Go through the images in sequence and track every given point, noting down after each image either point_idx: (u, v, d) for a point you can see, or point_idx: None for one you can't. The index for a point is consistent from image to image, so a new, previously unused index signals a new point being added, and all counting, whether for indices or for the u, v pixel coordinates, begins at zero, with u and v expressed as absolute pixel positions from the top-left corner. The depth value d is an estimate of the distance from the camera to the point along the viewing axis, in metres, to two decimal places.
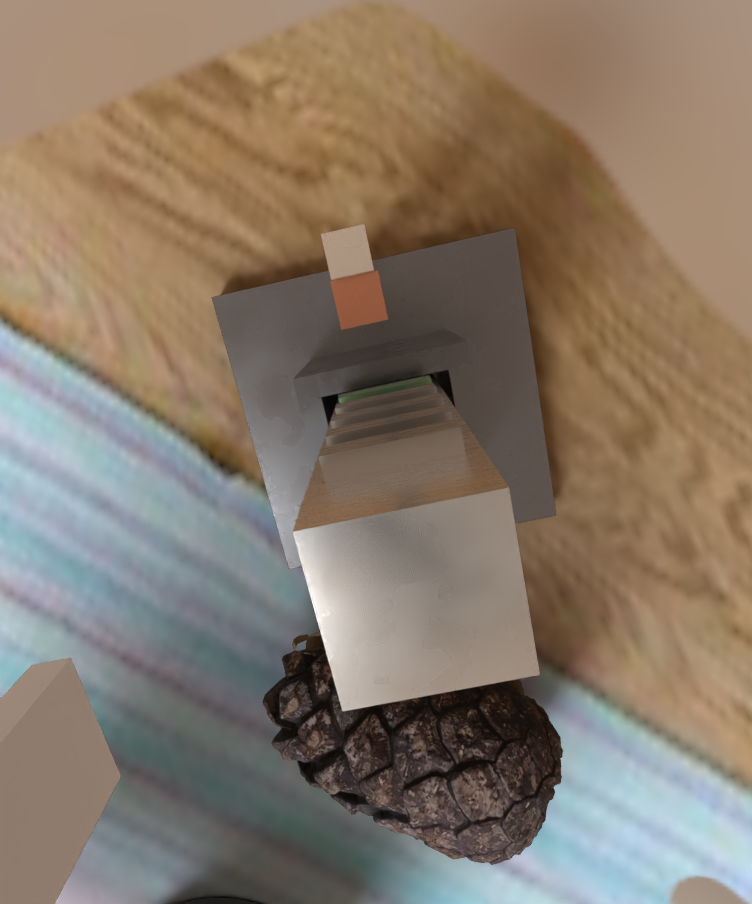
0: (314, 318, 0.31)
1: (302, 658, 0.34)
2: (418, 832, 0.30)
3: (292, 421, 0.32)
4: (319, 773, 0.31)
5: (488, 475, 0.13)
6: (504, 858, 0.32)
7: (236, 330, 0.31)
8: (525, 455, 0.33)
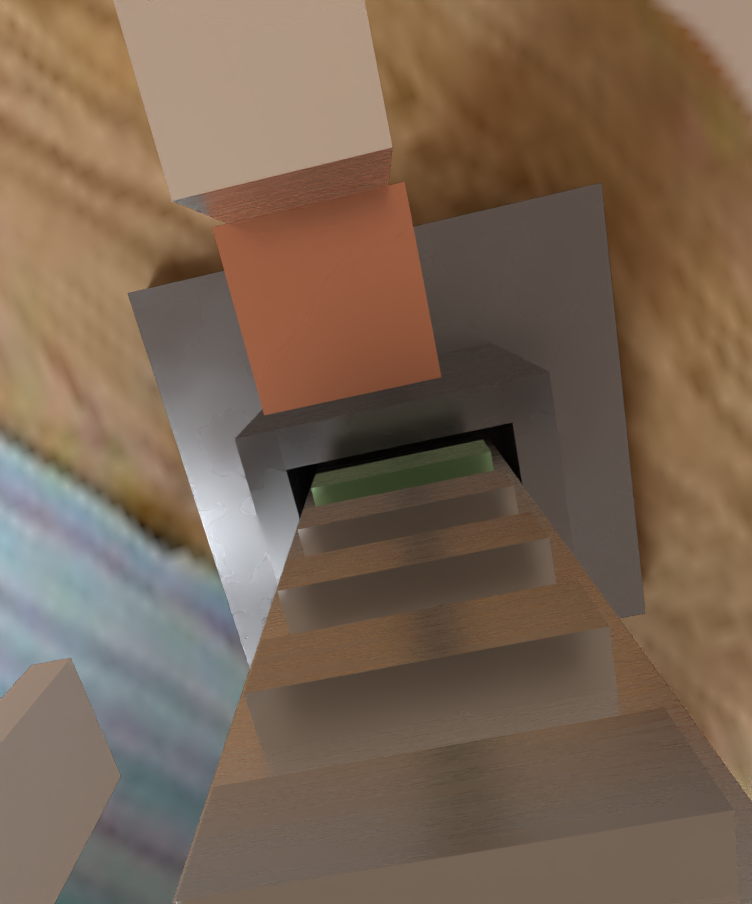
0: None
1: None
2: None
3: None
4: None
5: None
6: None
7: (167, 344, 0.20)
8: (603, 528, 0.22)
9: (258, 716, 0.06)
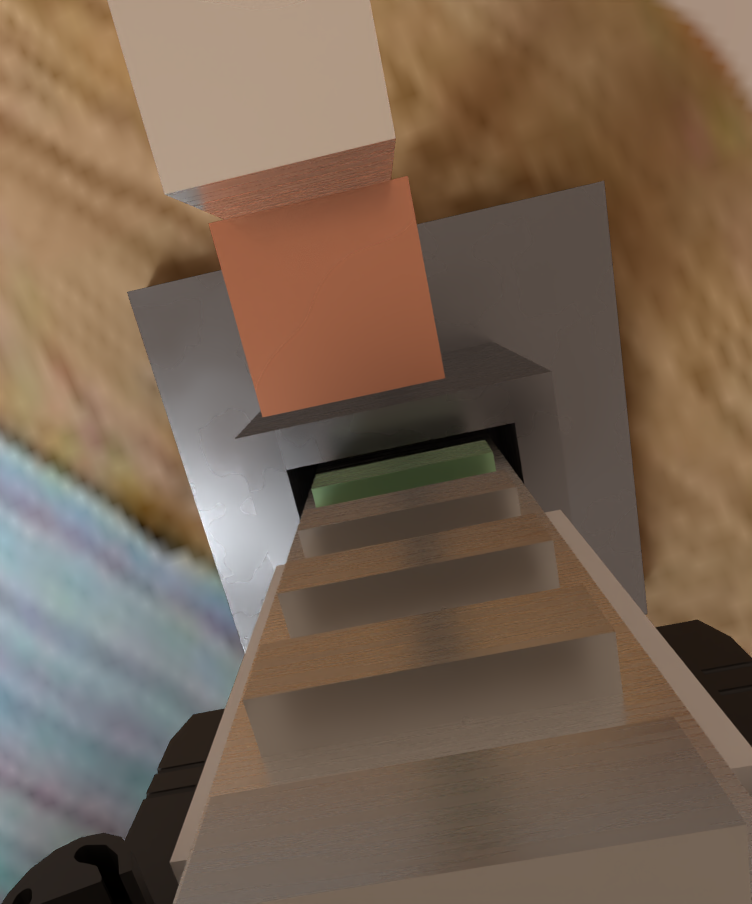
0: None
1: None
2: None
3: None
4: None
5: None
6: None
7: (167, 343, 0.20)
8: (605, 529, 0.22)
9: (257, 722, 0.06)
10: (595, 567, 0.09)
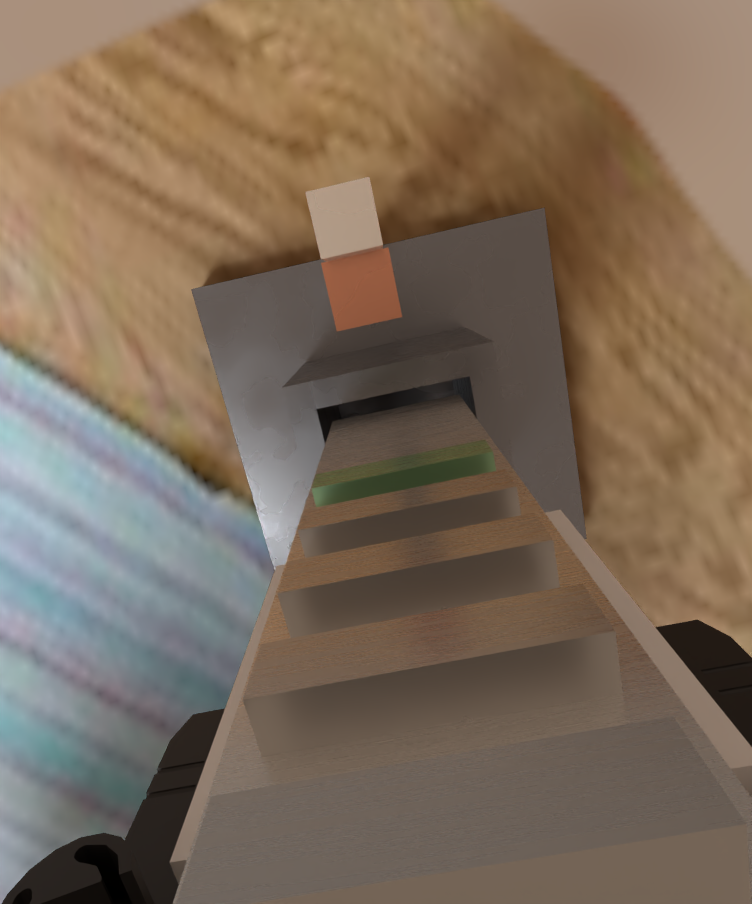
0: (309, 314, 0.26)
1: None
2: None
3: (285, 432, 0.28)
4: None
5: None
6: None
7: (220, 327, 0.27)
8: (552, 471, 0.28)
9: (257, 722, 0.06)
10: (595, 567, 0.09)
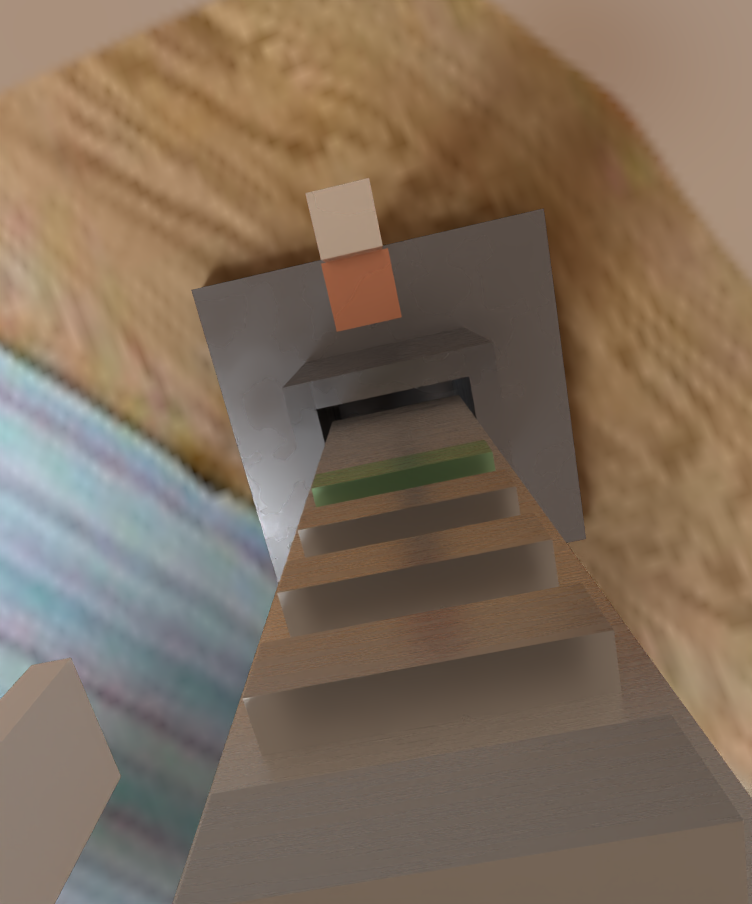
0: (309, 314, 0.26)
1: None
2: None
3: (285, 432, 0.28)
4: None
5: None
6: None
7: (220, 328, 0.27)
8: (551, 471, 0.29)
9: (257, 721, 0.06)
10: None
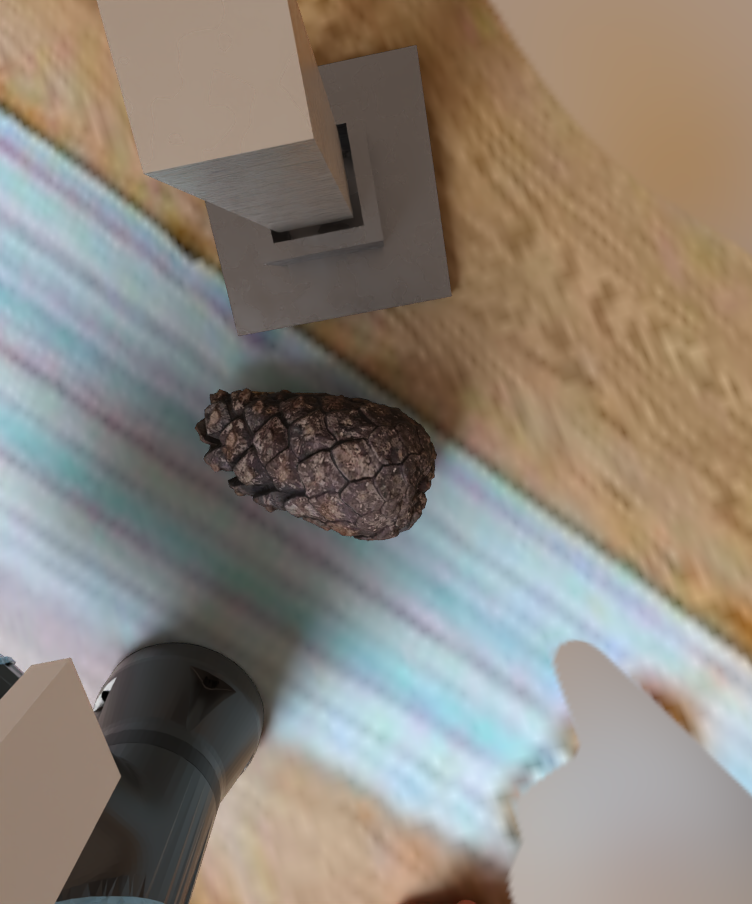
0: None
1: (225, 393, 0.42)
2: (313, 502, 0.39)
3: None
4: (236, 465, 0.40)
5: None
6: (387, 530, 0.40)
7: None
8: (426, 242, 0.41)
9: None
10: None
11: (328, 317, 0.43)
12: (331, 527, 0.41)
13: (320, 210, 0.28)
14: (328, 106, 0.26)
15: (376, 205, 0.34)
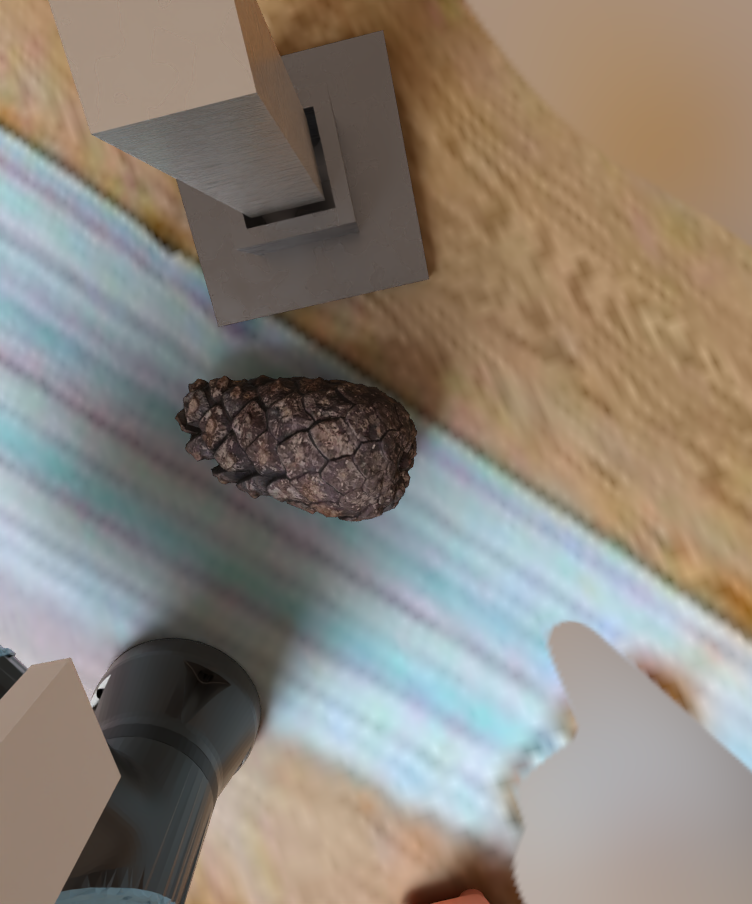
0: None
1: (203, 382, 0.43)
2: (295, 483, 0.39)
3: None
4: (216, 451, 0.40)
5: None
6: (371, 508, 0.40)
7: None
8: (401, 226, 0.41)
9: None
10: None
11: (307, 304, 0.43)
12: (315, 509, 0.41)
13: (287, 189, 0.28)
14: (289, 84, 0.26)
15: (347, 187, 0.34)
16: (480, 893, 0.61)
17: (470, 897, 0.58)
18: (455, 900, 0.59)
